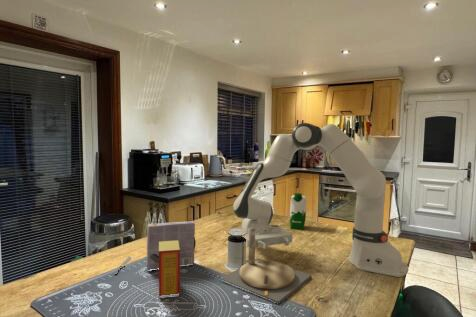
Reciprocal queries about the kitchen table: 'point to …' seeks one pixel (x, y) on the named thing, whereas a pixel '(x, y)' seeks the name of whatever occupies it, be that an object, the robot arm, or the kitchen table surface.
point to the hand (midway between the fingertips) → (277, 245)
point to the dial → (264, 270)
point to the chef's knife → (126, 261)
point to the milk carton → (297, 211)
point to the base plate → (271, 294)
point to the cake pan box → (169, 233)
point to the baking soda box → (169, 267)
